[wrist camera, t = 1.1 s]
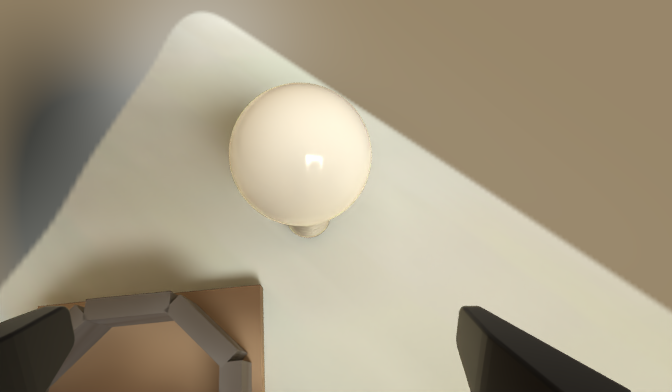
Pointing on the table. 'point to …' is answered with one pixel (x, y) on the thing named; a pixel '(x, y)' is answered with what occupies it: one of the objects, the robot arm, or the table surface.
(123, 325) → the bulb holder
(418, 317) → the table surface
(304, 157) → the lightbulb
